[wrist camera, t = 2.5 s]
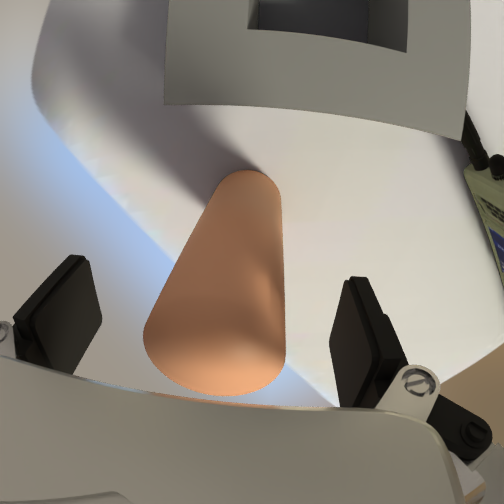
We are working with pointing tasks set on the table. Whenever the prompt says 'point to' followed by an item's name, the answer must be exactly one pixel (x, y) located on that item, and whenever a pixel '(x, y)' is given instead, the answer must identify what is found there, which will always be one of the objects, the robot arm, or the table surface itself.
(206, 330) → the peg
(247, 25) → the socket block
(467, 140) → the handheld radio
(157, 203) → the table surface
